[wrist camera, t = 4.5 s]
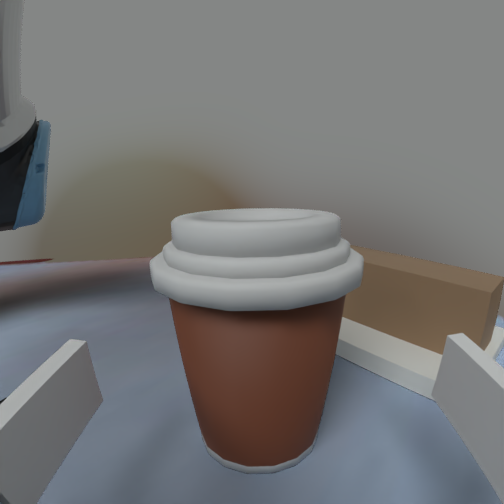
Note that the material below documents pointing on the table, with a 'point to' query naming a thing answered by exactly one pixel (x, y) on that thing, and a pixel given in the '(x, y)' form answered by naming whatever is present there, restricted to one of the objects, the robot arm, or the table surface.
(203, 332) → the coffee cup
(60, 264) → the table surface
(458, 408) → the robot arm
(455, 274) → the stand
